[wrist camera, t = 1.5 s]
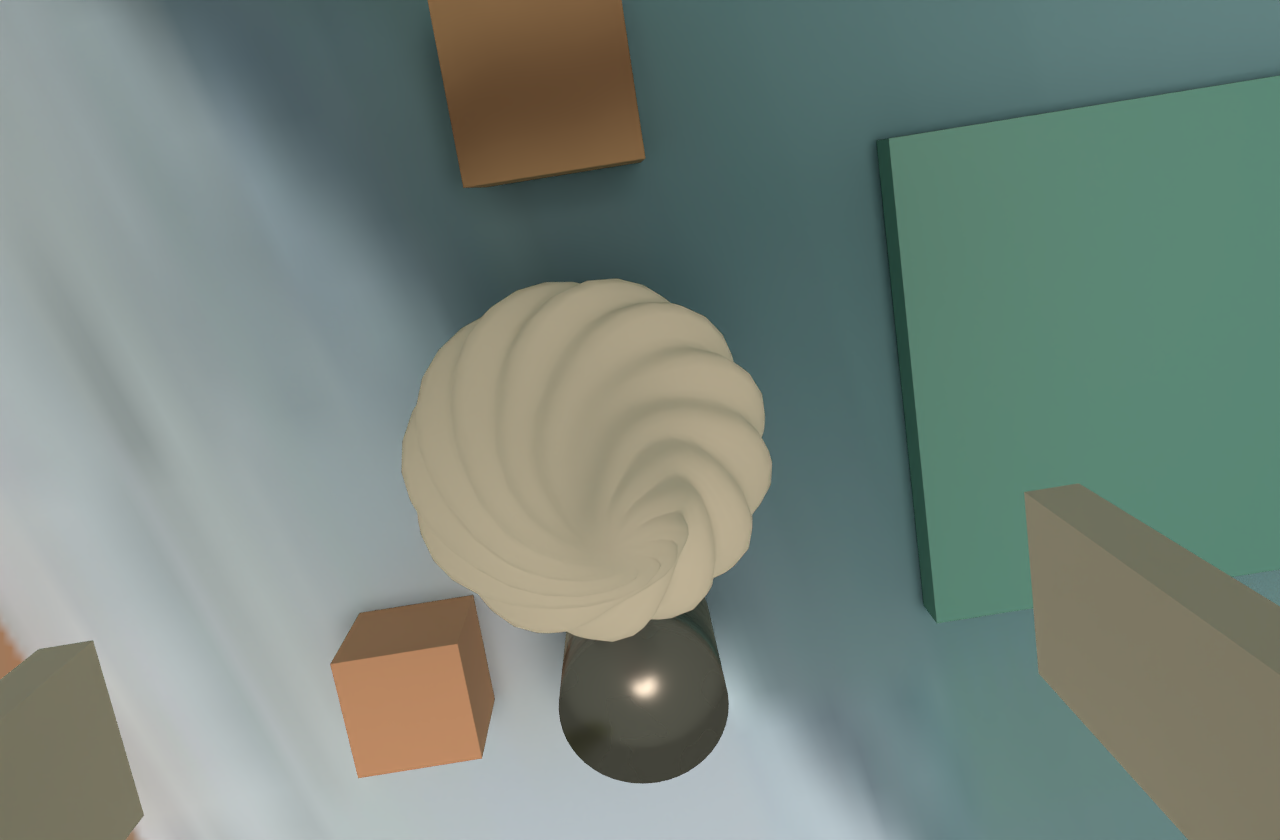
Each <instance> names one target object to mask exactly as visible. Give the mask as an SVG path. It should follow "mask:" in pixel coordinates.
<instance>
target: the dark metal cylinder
mask: <svg viewBox="0 0 1280 840" xmlns="http://www.w3.org/2000/svg"><path fill="white" fill-rule="evenodd" d="M728 705H729V703H728V693H727V688H726V684H725V680H724V675H723V671H722V666H721V662H720V658H719V653H718V649H717V644H716V640H715V636H714V631H713V627H712V623H711V618H710V614H709V609H708V605H707V602H706V599H705V597H704V598H703V599H702V600H701V601H700V602H699V604H698V605H697V606H696V607H695V608H694V609H693V610H691V611H688V612H686V613H683V614H680V615H678V616H675V617H673V618H668V619H660V620H659V619H651V620H650V621H649V622H648V623H647V624H646V626H645V627H644V628H643V629H642V630H640V631H639V632H638V633H636V634H635V635H634V636H630V637H627V638H624V639H620V640H617V641H614V642H610V641H601V640H593V639H586V638H582V637H578V636H575V635H573V634H571V633H569V632H567V631H566V638H565V648H564V658H563V668H562V677H561V687H560V697H559V715H560V722H561V726H562V729H563V732H564V734H565V737H566V739H567V741H568V742H569V744H570V746H571V747H572V749H573V750H574V751H575V753H576V754H577V755H578V756H579V757H580V758H581V759H582V760H583V761H584V762H585V763H586V764H587V765H589V766H590V767H591V768H593V769H594V770H596V771H598V772H600V773H601V774H603V775H605V776H608V777H610V778H613V779H616V780H620V781H624V782H630V783H655V782H661V781H665V780H669V779H672V778H675V777H678V776H680V775H682V774H684V773H686V772H688V771H689V770H691V769H692V768H694V767H696V766H697V765H698V764H699V763H701V762H702V761H703V760H704V759H705V758H706V757H707V756H708V755H709V754H710V753H711V752H712V750H713V749H714V747H715V746H716V745H717V743H718V741H719V739H720V737H721V736H722V734H723V731H724V728H725V725H726V721H727V716H728Z"/></svg>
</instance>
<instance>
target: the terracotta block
mask: <svg viewBox="0 0 1280 840" xmlns="http://www.w3.org/2000/svg"><path fill="white" fill-rule="evenodd" d="M330 665H331V669H332V673H333V677H334V681H335V685H336V689H337V693H338V697H339V701H340V706H341V710H342V714H343V718H344V722H345V726H346V730H347V734H348V738H349V742H350V746H351V750H352V755H353V759H354V763H355V767H356V771H357V775H358V778H362V777H368V776H375V775H381V774H387V773H393V772H400V771H406V770H412V769H418V768H425V767H431V766H437V765H444V764H450V763H456V762H462V761H469V760H475V759H481V758H482V756H483V751H484V747H485V742H486V737H487V733H488V728H489V723H490V719H491V714H492V709H493V705H494V700H495V698H494V693H493V688H492V683H491V678H490V674H489V669H488V664H487V659H486V654H485V649H484V645H483V640H482V635H481V630H480V625H479V620H478V616H477V611H476V606H475V601H474V596H473V595H470V596H464V597H457V598H451V599H445V600H438V601H432V602H426V603H420V604H413V605H407V606H401V607H394V608H388V609H382V610H375V611H369V612H363V613H359V615H358V617H357V619H356V620H355V622H354V624H353V626H352V627H351V629H350V631H349V632H348V634H347V636H346V638H345V639H344V641H343V643H342V645H341V646H340V648H339V650H338V652H337V653H336V655H335V657H334V659H333V660H332V662H331V664H330Z"/></svg>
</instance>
